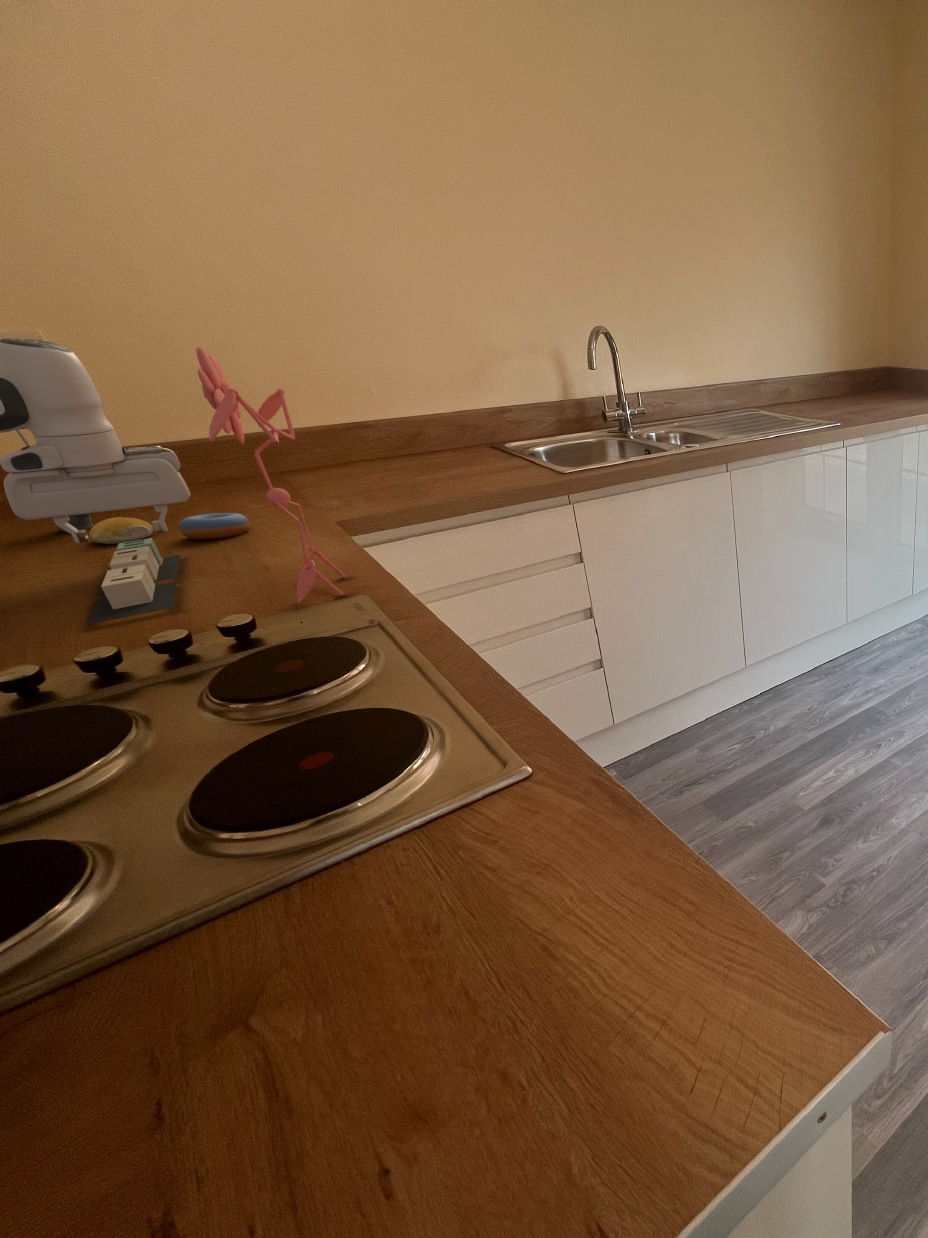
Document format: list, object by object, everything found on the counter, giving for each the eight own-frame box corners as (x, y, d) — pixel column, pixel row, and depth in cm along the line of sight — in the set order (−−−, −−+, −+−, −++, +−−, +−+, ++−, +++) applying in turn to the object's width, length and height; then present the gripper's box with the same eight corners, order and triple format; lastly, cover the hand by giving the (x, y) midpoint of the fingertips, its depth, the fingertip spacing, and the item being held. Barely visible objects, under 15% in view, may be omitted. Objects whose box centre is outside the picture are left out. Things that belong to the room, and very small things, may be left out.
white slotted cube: (116, 600, 103) (104, 577, 102) (118, 592, 106) (106, 569, 105) (154, 593, 106) (142, 570, 104) (155, 585, 109) (144, 563, 107)
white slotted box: (113, 609, 100) (100, 585, 99) (116, 601, 103) (103, 577, 101) (152, 602, 103) (140, 578, 101) (153, 594, 105) (142, 571, 104)
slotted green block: (126, 569, 115) (115, 548, 113) (128, 563, 118) (118, 542, 116) (160, 564, 117) (150, 543, 116) (161, 557, 120) (151, 537, 119)
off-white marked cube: (123, 579, 111) (111, 557, 110) (125, 572, 114) (114, 550, 113) (158, 572, 114) (147, 551, 112) (159, 566, 117) (149, 545, 115)
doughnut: (239, 527, 139) (230, 504, 137) (262, 534, 134) (252, 511, 132) (177, 540, 131) (166, 517, 129) (198, 548, 127) (187, 524, 125)
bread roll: (135, 530, 138) (126, 510, 136) (163, 534, 135) (154, 514, 133) (82, 542, 131) (71, 522, 129) (110, 547, 128) (99, 526, 126)
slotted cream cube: (120, 586, 108) (108, 564, 107) (122, 579, 111) (111, 557, 110) (156, 580, 111) (145, 558, 109) (158, 573, 114) (147, 551, 112)
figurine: (353, 561, 119) (275, 341, 104) (347, 612, 100) (250, 349, 84) (241, 579, 112) (139, 345, 97) (210, 638, 93) (76, 355, 77)
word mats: (88, 628, 96) (85, 623, 96) (110, 570, 117) (108, 566, 117) (174, 610, 101) (172, 606, 101) (180, 558, 122) (179, 554, 122)
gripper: (173, 441, 117) (206, 521, 123) (-7, 456, 105) (39, 543, 111) (171, 447, 112) (205, 529, 118) (-17, 462, 101) (31, 553, 107)
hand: (123, 536), depth 115 cm, fingers open, 8 cm apart
